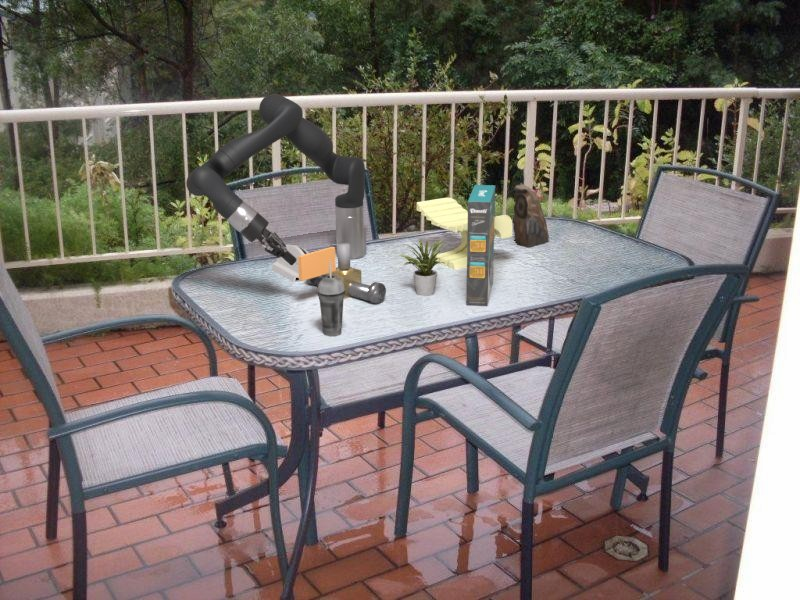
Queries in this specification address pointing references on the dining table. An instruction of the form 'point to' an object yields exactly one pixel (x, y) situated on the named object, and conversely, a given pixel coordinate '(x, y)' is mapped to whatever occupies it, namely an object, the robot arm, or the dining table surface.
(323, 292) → the beverage cup
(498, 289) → the dining table surface
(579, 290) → the dining table surface
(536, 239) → the owl
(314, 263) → the lever
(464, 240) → the slatted curved stool
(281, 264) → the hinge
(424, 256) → the house plant
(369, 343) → the dining table surface
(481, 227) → the cake mix box
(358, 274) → the valve
